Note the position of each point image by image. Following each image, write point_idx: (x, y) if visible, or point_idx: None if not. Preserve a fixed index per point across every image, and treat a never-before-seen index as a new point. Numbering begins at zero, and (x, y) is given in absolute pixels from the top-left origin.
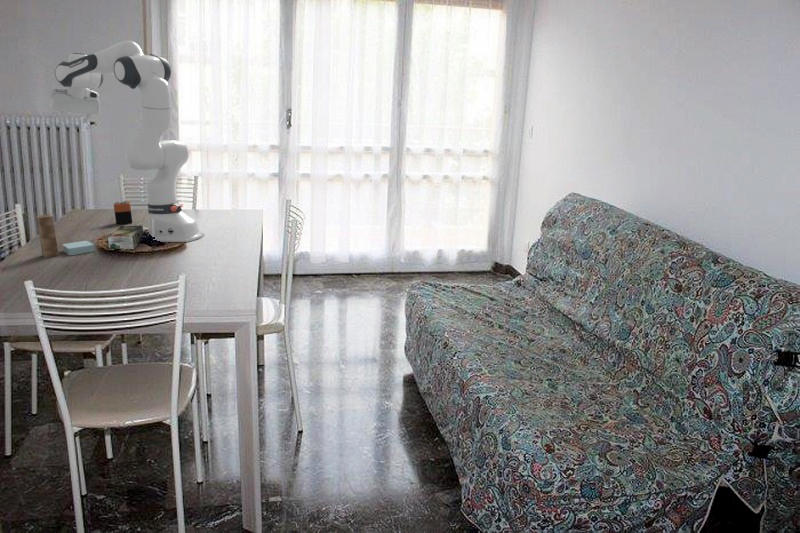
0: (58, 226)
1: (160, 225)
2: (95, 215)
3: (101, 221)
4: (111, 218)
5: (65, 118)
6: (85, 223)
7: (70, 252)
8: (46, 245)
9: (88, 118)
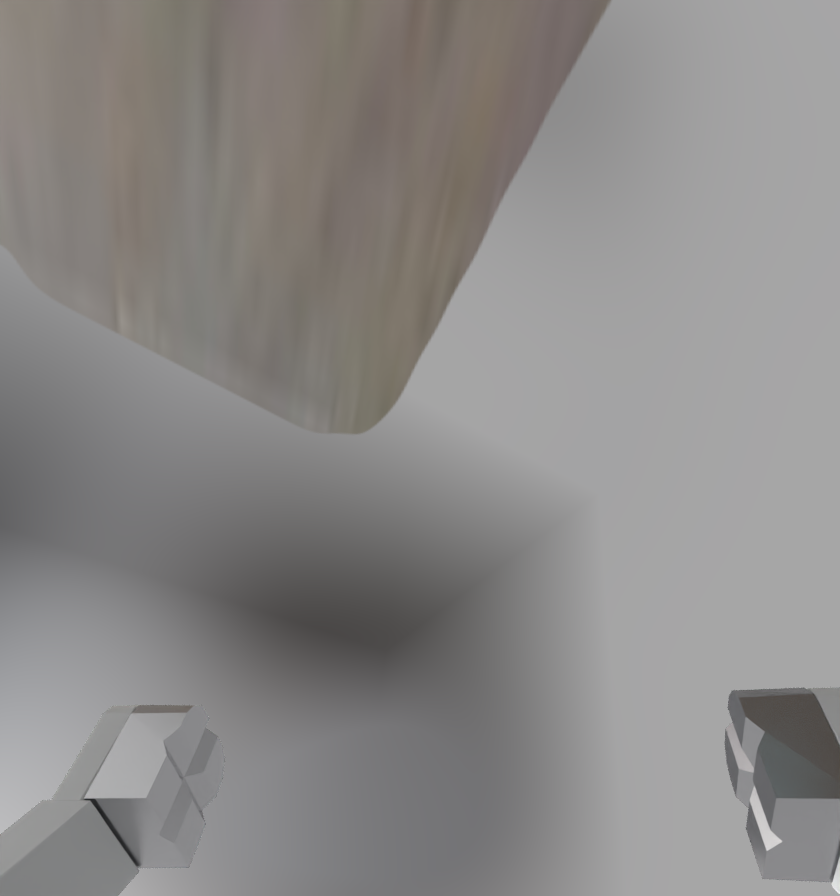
0: (574, 22)
1: None
2: (308, 253)
3: (293, 6)
4: (219, 81)
5: (779, 783)
6: (403, 6)
7: None
8: None
9: (7, 845)
